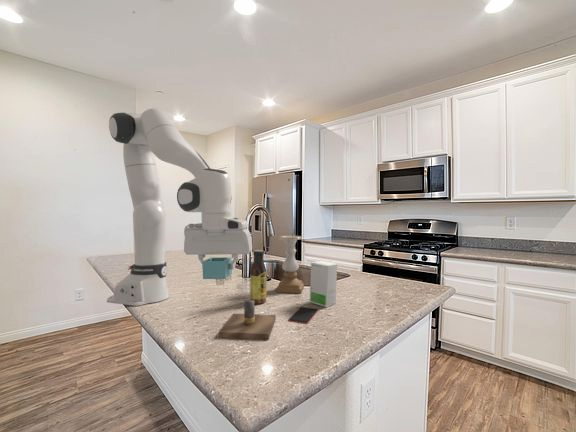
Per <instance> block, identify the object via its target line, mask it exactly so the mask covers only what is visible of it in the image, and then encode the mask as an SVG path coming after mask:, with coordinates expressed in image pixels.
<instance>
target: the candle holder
mask: <svg viewBox="0 0 576 432" xmlns="http://www.w3.org/2000/svg"><path fill="white" fill-rule="evenodd" d="M278 238H279V239H280V240H283V241H284V243H285V244H286V245H285V246H286V248H285V249H284V252H285V254H286V258H285V259H284V261H283V263H282V266H281V267H282V270H284V272H283V276H284V278H283V279H281V280H280V282H278V285H277V286H276V289H275V290H276V293H280V294H284V293H285V294H298V295H299V294H302V292H303V291H304V288H305V287H304V286H305V283H304V282H303V279H302V280H301V279H298V278H297V276H298V273H297V270H299V268H300V266H299V262H298V261H297V259H296V257H295V254H296V252H297V249H296V246H295V245H296V243H297V241H298V240H302V239H303V236H301V235H280V236H279V237H278Z"/></svg>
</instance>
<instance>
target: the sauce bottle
mask: <svg viewBox="0 0 576 432" xmlns="http://www.w3.org/2000/svg"><path fill="white" fill-rule="evenodd" d="M264 254H265V251H264V250H263V249H257V250H253V262H252V263H253V264H252V265H251V266H250V277H249V278H250V283H249V287H250V290H249V293H250V294H249V295H250V296H249V297H250V300H254V305H260V304H264V303H266V302H267V284H268V283H267V280H268V279H267V273H268V272H267V269H266V265H265V262H264Z"/></svg>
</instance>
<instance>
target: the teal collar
mask: <svg viewBox="0 0 576 432" xmlns="http://www.w3.org/2000/svg"><path fill="white" fill-rule="evenodd" d="M232 261H233V258H232V256H230V257H227V256H226V257H222V256H221V257H219V256H218V257H217V256H216V257H215V256H213V257H209V258H206V259H205V261H203V262H202V263H201V265H203V269H202V280H226V279H227V278H228V277H230V276H231V275H232V274H233V269H229V266H228V264H229V263H232Z"/></svg>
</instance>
